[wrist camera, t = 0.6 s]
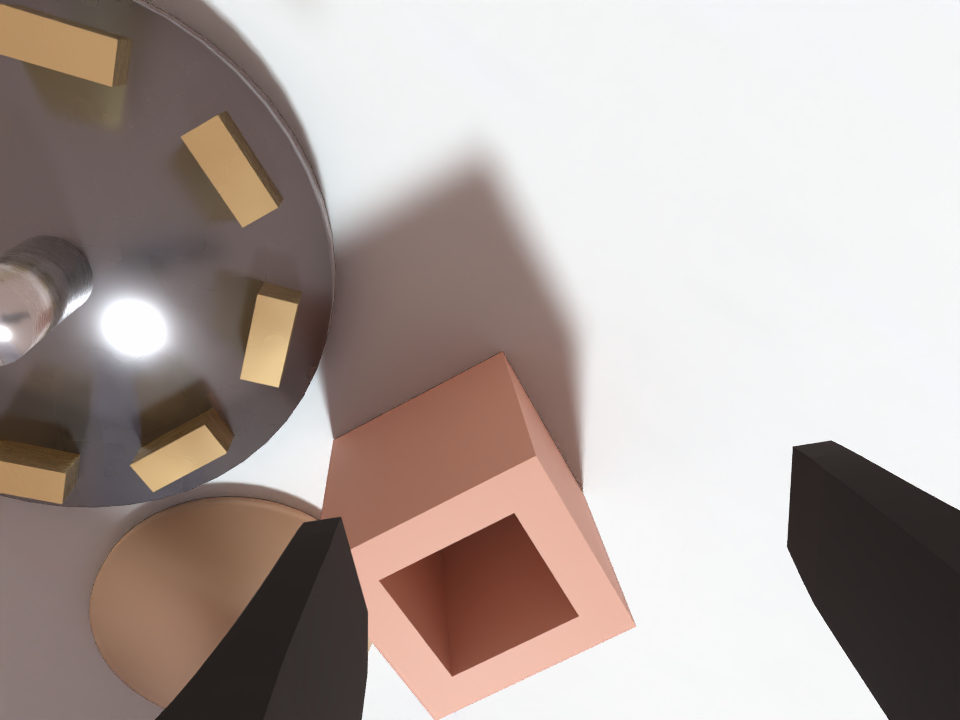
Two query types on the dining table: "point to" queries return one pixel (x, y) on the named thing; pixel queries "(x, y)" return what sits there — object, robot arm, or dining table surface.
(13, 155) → the hub
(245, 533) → the cork coaster
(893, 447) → the dining table surface
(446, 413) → the pink square tube
